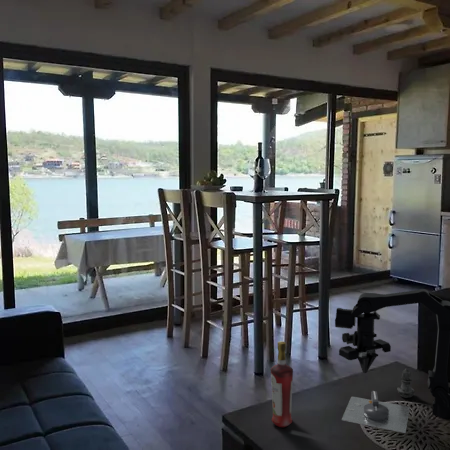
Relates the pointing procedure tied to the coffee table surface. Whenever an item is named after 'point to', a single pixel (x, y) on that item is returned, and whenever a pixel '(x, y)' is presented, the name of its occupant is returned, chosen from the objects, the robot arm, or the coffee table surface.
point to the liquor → (281, 389)
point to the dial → (376, 409)
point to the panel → (356, 415)
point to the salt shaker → (406, 385)
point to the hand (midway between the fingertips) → (364, 372)
